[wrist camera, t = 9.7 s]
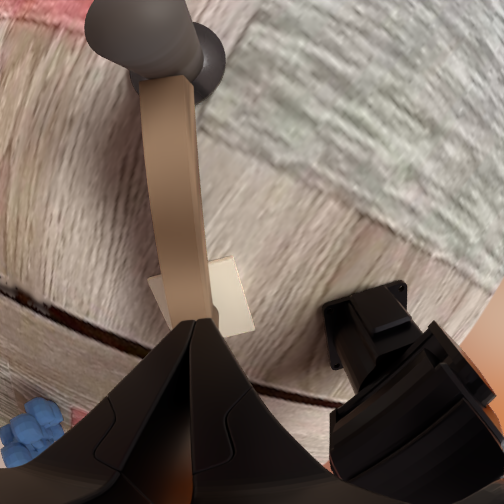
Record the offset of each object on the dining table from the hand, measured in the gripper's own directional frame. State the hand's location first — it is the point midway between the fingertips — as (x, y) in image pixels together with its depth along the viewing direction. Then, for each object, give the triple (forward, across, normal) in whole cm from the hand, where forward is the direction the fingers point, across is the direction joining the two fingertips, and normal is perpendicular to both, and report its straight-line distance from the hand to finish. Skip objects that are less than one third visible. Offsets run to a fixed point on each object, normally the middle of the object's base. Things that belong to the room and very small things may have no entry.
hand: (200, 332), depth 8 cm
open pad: (+11, +2, +6) cm, 12 cm away
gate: (+10, +1, -2) cm, 10 cm away
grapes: (+11, +21, +16) cm, 28 cm away
